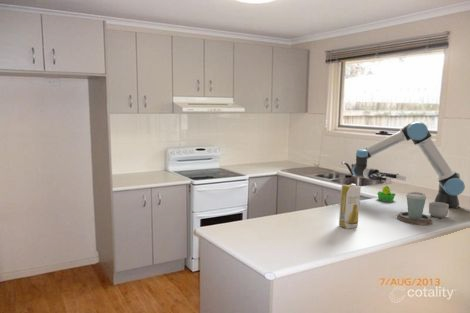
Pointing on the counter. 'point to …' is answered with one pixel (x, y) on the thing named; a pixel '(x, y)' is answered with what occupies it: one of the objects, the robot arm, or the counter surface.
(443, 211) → the teacup
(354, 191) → the juice carton
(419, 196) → the disposable coffee cup
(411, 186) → the counter surface
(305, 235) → the counter surface
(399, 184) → the counter surface
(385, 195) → the fruit basket
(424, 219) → the ring board
